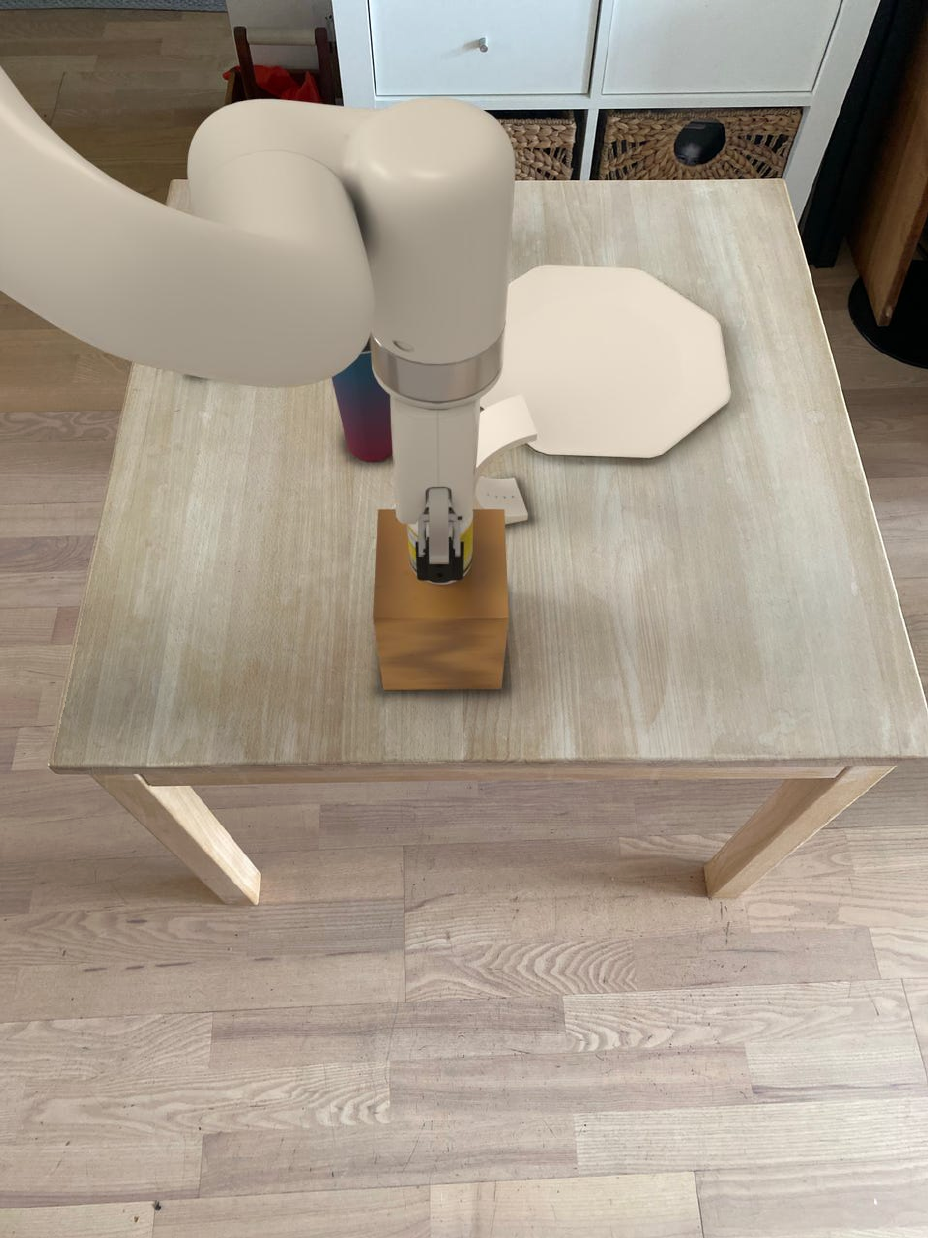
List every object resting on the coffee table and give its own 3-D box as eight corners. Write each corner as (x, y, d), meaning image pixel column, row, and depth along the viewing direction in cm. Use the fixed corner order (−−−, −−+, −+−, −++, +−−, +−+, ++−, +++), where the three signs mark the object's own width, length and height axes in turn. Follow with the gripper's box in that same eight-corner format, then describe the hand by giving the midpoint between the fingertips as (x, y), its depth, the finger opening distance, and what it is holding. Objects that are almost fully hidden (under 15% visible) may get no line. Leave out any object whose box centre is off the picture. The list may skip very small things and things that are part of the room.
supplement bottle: (482, 548, 71) (485, 478, 64) (456, 595, 69) (456, 528, 62) (426, 526, 72) (423, 455, 65) (398, 572, 70) (392, 504, 63)
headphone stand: (527, 520, 88) (537, 434, 77) (465, 532, 87) (467, 447, 76) (514, 482, 90) (522, 394, 79) (453, 494, 89) (454, 406, 79)
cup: (346, 413, 94) (329, 294, 81) (412, 420, 94) (406, 302, 81) (331, 465, 91) (312, 348, 78) (400, 473, 90) (392, 357, 77)
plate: (737, 469, 91) (741, 459, 90) (457, 460, 91) (457, 450, 90) (709, 280, 105) (712, 269, 104) (466, 272, 105) (466, 261, 104)
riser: (383, 690, 78) (372, 618, 68) (386, 590, 83) (377, 508, 73) (501, 689, 79) (508, 617, 68) (497, 589, 84) (504, 508, 73)
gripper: (375, 239, 56) (391, 435, 71) (363, 462, 47) (384, 632, 62) (499, 239, 56) (488, 435, 71) (510, 462, 47) (495, 632, 63)
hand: (440, 526), depth 67 cm, fingers open, 8 cm apart
